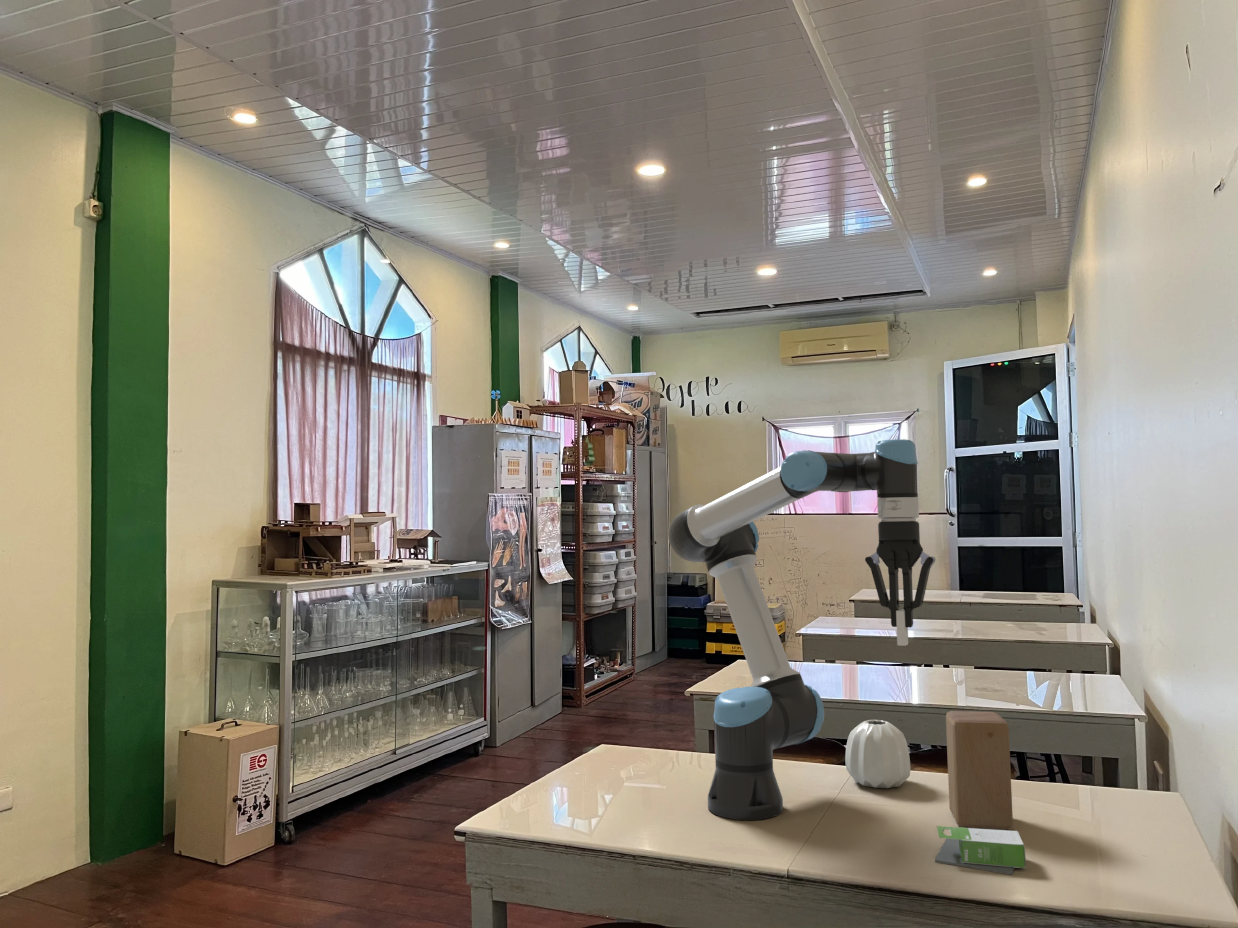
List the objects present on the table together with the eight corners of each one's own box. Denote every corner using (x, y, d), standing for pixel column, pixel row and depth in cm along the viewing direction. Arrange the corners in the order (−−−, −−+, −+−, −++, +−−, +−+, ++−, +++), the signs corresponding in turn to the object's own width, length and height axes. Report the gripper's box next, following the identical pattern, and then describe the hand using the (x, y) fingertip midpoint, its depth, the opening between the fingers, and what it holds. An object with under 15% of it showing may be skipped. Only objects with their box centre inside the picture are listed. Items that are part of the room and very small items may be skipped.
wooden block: (1014, 831, 165) (1009, 722, 166) (957, 828, 167) (953, 720, 168) (1002, 814, 174) (997, 710, 176) (948, 811, 176) (944, 709, 178)
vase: (843, 774, 203) (841, 714, 204) (905, 775, 201) (903, 715, 202) (850, 792, 190) (848, 728, 191) (917, 794, 188) (915, 729, 189)
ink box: (1020, 854, 152) (937, 847, 156) (1018, 830, 153) (936, 824, 157) (1026, 869, 146) (939, 861, 150) (1025, 844, 146) (938, 837, 150)
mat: (934, 861, 151) (934, 859, 151) (947, 839, 161) (946, 837, 161) (1011, 874, 145) (1011, 872, 145) (1019, 850, 155) (1019, 848, 155)
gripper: (859, 520, 170) (863, 645, 168) (930, 519, 164) (935, 649, 162) (868, 520, 177) (873, 640, 175) (937, 519, 170) (942, 643, 169)
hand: (902, 644), depth 169 cm, fingers closed
